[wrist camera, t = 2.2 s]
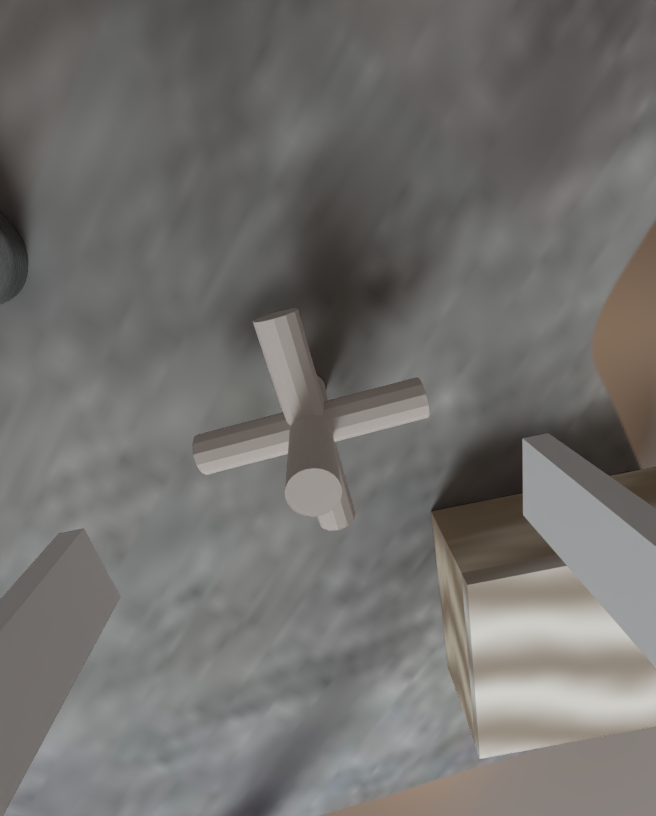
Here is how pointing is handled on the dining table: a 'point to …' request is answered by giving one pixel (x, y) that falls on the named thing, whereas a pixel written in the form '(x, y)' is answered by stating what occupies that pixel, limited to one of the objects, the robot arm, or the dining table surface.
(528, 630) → the stand
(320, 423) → the pipe connector
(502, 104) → the dining table surface
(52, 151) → the dining table surface
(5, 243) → the round metal puck
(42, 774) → the dining table surface
